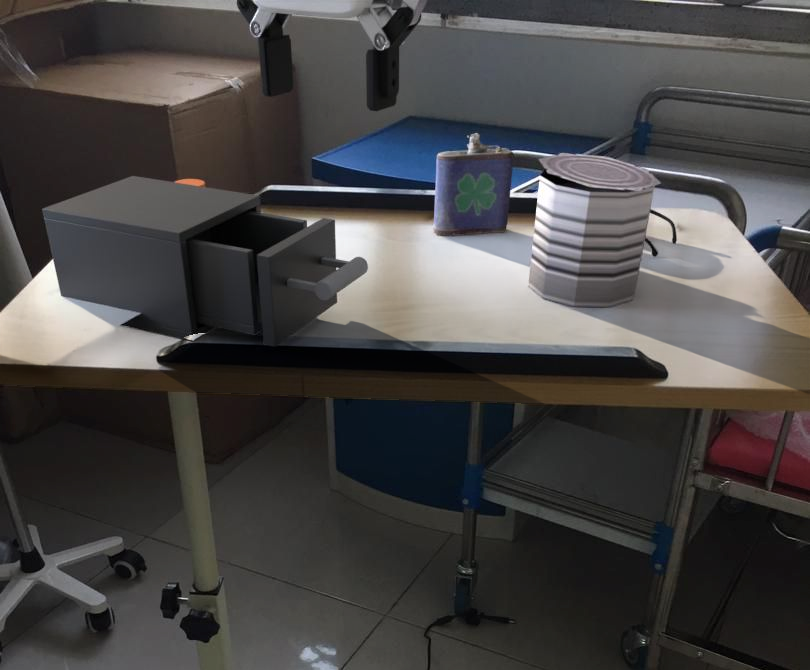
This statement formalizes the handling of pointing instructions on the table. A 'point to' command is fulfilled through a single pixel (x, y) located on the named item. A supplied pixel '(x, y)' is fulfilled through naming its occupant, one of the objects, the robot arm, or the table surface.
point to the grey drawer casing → (138, 247)
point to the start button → (192, 182)
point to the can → (589, 229)
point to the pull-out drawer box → (267, 274)
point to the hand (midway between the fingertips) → (328, 100)
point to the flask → (472, 189)
